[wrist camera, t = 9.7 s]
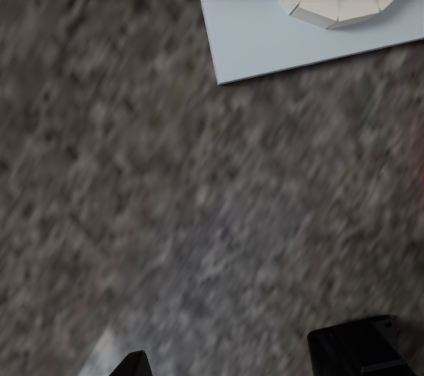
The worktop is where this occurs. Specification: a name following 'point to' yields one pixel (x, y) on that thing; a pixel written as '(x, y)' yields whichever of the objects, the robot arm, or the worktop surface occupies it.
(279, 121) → the worktop surface
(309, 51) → the base board
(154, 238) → the worktop surface
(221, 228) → the worktop surface
